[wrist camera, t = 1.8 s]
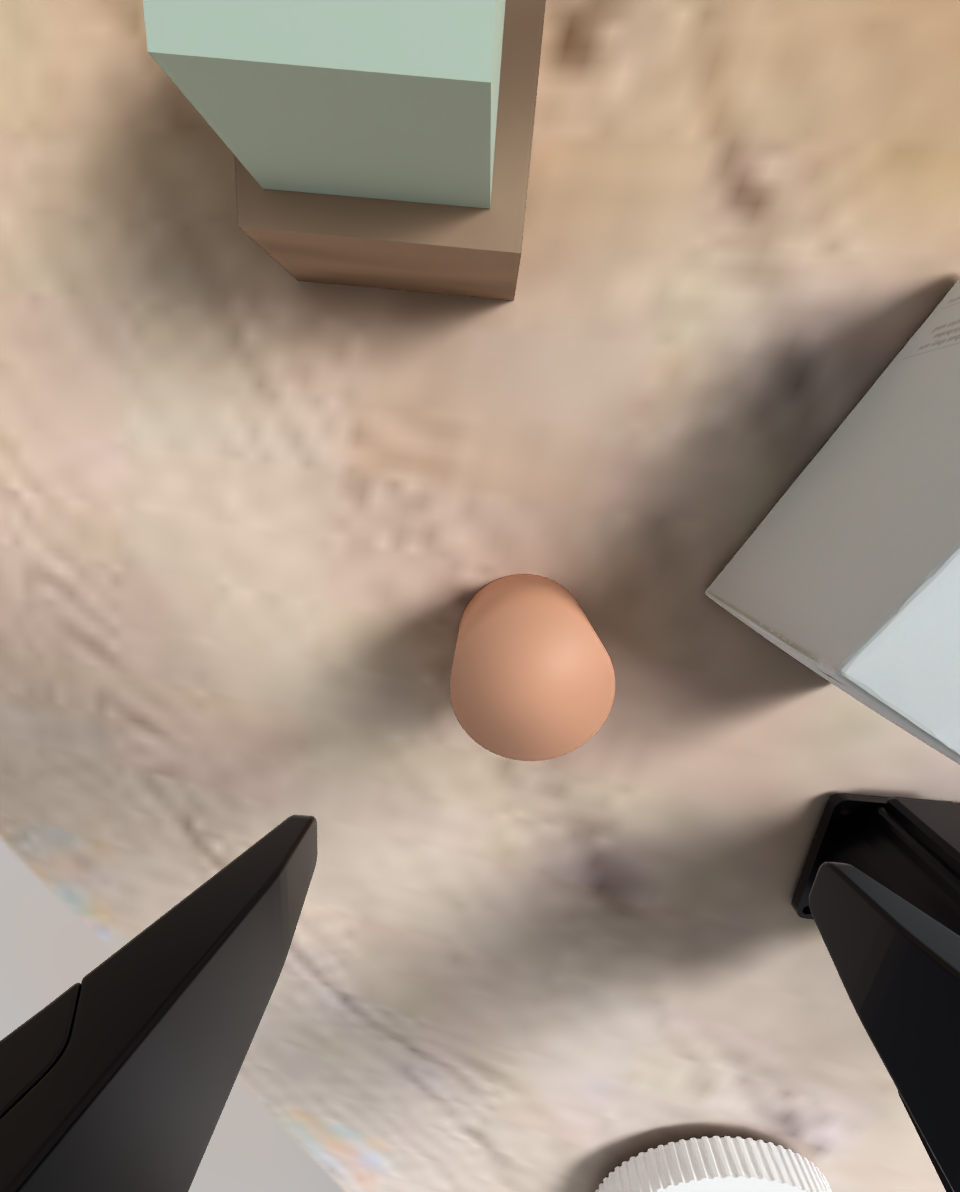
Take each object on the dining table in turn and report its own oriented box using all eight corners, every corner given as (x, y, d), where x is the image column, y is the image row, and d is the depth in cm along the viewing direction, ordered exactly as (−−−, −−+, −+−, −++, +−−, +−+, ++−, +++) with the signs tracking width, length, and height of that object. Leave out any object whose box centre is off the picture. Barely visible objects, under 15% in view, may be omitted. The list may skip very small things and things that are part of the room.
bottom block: (513, 303, 15) (521, 253, 12) (300, 283, 15) (238, 226, 12) (539, 25, 13) (559, -145, 10) (295, 1, 13) (217, -180, 10)
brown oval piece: (576, 697, 19) (601, 767, 15) (454, 686, 19) (444, 753, 15) (595, 579, 18) (628, 619, 14) (463, 568, 18) (455, 604, 14)
